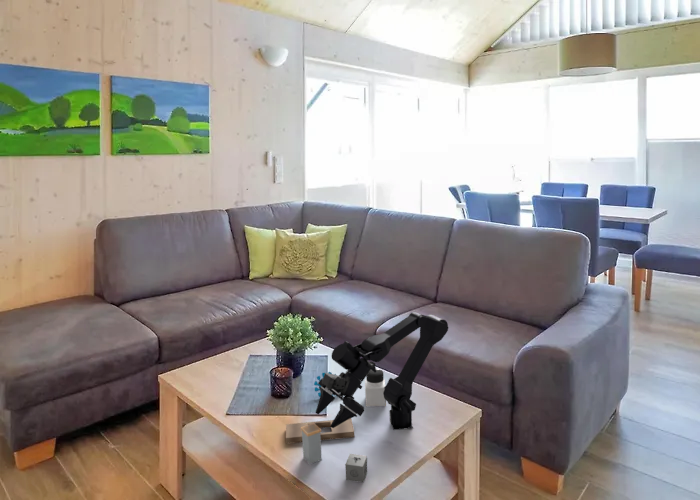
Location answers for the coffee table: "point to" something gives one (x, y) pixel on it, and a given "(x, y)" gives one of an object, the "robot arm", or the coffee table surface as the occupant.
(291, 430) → the wooden socket base
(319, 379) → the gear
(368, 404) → the medicine bottle
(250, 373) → the coffee table surface
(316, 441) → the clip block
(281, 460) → the coffee table surface
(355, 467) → the grey marked cube
